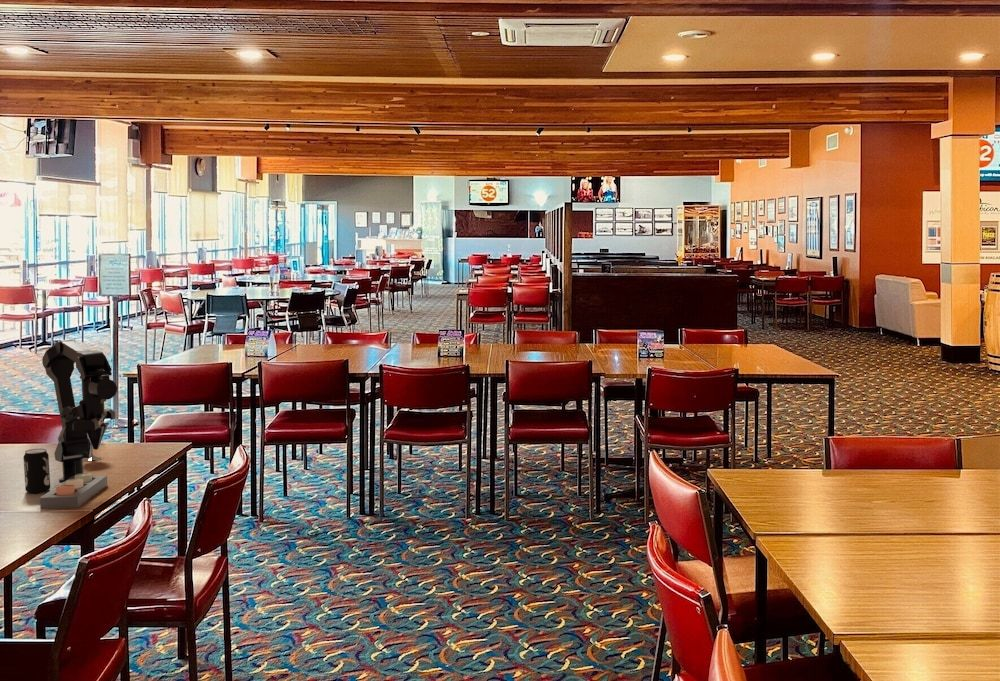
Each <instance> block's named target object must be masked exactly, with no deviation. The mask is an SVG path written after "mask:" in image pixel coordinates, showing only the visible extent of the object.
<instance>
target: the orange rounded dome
mask: <svg viewBox="0 0 1000 681" xmlns="http://www.w3.org/2000/svg"><path fill="white" fill-rule="evenodd" d="M57 486H58V485H57ZM57 486H55V487H56V495H72V494H74V493H75V491H74V485H62V486H58V487H57Z"/></svg>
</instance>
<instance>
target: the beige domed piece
mask: <svg viewBox="0 0 1000 681" xmlns="http://www.w3.org/2000/svg"><path fill="white" fill-rule="evenodd" d="M66 485H74V489H78V488H82V487H84V485H83V479H70V480H67V481H66Z"/></svg>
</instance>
